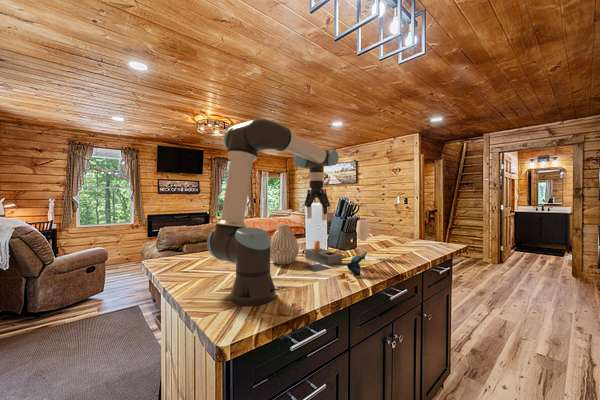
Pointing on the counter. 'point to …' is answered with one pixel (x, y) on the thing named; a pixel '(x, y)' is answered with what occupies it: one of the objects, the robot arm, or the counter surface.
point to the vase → (283, 246)
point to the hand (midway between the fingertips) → (316, 219)
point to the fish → (356, 263)
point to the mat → (316, 267)
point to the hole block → (324, 257)
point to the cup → (363, 229)
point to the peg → (316, 245)
